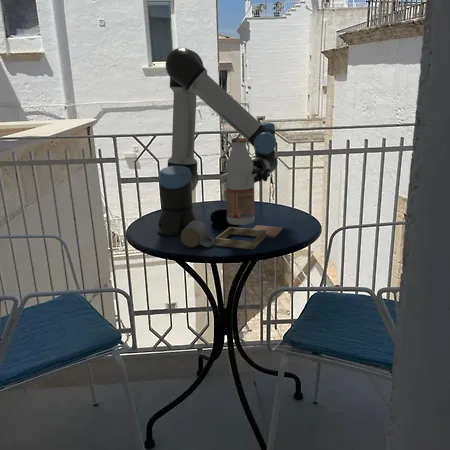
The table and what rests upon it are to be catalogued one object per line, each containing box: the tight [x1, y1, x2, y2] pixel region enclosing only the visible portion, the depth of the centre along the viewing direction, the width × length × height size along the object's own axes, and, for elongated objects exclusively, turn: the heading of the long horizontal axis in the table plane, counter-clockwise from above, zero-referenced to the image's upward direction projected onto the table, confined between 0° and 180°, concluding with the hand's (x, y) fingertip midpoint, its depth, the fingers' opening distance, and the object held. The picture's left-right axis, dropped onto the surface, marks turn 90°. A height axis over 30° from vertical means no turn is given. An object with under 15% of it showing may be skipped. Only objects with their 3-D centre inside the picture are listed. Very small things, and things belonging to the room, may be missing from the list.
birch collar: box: [214, 226, 267, 250], centre depth 157 cm, size 14×14×2 cm
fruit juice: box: [225, 137, 256, 226], centre depth 151 cm, size 9×9×28 cm
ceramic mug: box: [180, 219, 215, 249], centre depth 154 cm, size 11×8×8 cm
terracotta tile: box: [252, 224, 283, 238], centre depth 166 cm, size 10×10×1 cm
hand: (234, 180), depth 147 cm, fingers closed on fruit juice, 9 cm apart
